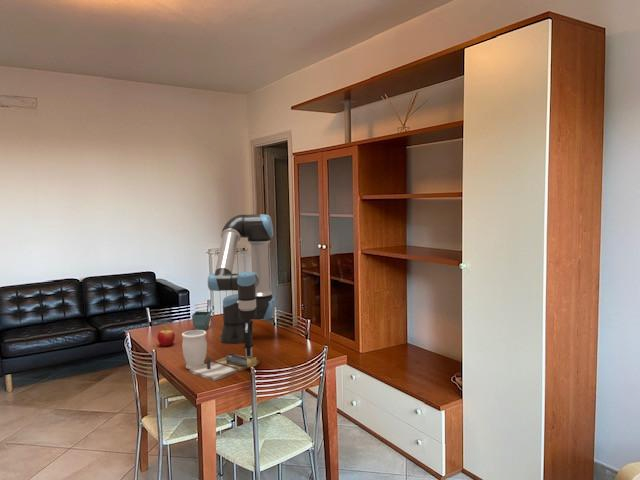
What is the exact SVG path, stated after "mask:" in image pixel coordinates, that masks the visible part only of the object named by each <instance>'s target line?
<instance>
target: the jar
mask: <svg viewBox="0 0 640 480" xmlns="http://www.w3.org/2000/svg"><path fill="white" fill-rule="evenodd" d="M206 335H207V331H205V330H196V329H193V330H187V331H183V332H182V333H181V337H182V343H181V345H182V354H183V359H184V361H185V364H186V365H185V368H186V369H188V370H191V369H194V368H197V367H199V366H202V365H205V364H206V363H205V360H206V359H207V350H208V342H207V338H206Z"/></svg>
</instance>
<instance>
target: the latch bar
mask: <svg viewBox="0 0 640 480" xmlns="http://www.w3.org/2000/svg"><path fill="white" fill-rule="evenodd" d="M235 354H236V353H228V354H226V355H225V357H226V362H233V363H237V364H241V365H245V366H247V367H249V368H251V367H252V368H254V367H255V366H257V365H258V364H257V363H256V360H257V356H254V355H252V356H251V357H249V358H245V357H246V356H244V357H241V356H242V355H240V356H236V355H235Z"/></svg>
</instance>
